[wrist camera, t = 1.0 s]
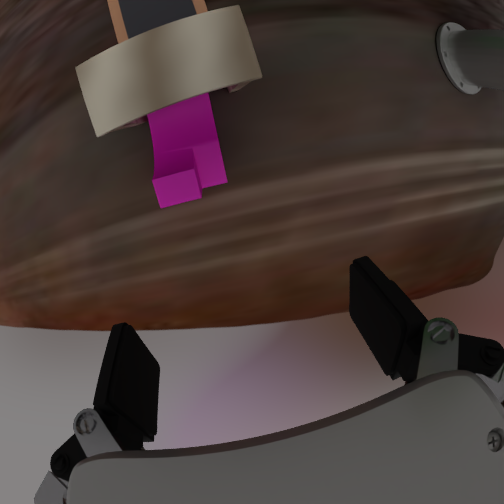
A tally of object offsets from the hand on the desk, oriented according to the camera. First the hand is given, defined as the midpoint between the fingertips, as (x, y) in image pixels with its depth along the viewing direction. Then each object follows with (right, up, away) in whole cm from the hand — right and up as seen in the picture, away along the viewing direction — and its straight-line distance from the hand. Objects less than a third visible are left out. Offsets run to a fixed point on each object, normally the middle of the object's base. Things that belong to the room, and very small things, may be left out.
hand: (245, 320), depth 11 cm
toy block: (-7, +17, +15) cm, 24 cm away
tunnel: (-7, +20, +13) cm, 25 cm away
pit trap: (-10, +29, +7) cm, 32 cm away
